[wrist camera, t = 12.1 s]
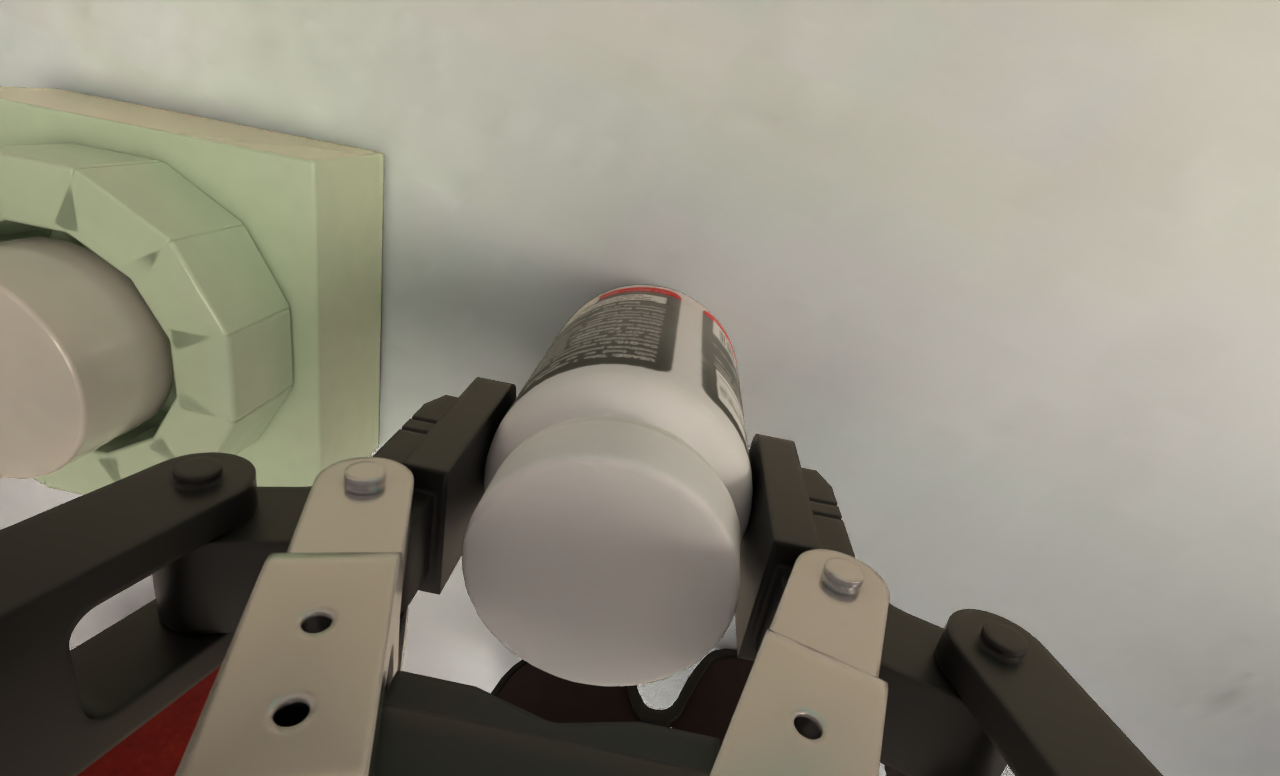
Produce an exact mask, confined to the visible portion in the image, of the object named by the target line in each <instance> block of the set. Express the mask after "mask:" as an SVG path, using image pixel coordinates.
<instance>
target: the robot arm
mask: <svg viewBox="0 0 1280 776" xmlns="http://www.w3.org/2000/svg"><path fill="white" fill-rule="evenodd" d="M515 400H516V386H515V385H514V384H510V383H505V382H500V381H495V380H490V379H485V378H480V377H477V378H476V379H475V380H474V381H473V382H472V383H471V384H470V385H469V387H468V388H467V389H466V390H465V391H464V392H463V393H462V394H461V396H460V397H459V398H458V397H453V396H448V395H445V396H442V397H440V398H438V399H435V400H433V401H430V402H428V403H425V404H424V405H423V406H422V407H421V408H420V409H419V410H418V411H417V412H416V413H415V414H414V415H413V416H412V419H409V420H408V421H407V422H406V423H405V424H404V425H403V426H402V430H401V429H399V430H398V431H397V432H396V433H395V434H394V435H393V436H392V437H391V438H390V439H389V440H388V441H387V442H386V443H385V445H384V446H383V447H382V448H381V449H380V450H379V451H378V452H377V453H376V454H375V455H374V456H373V457H357V458H351V459H346V460H342V461H339V462H336V463H334V464H331V465H329V466H328V467H326V468H324V469H323V470H322V471H320V473H319V474H318V475H317V476H316V478H315V480H314V482H313V485H312V486H308V487H257V480H256V470H255V467H254V465H253V464H252V463H251V462H250V461H248V460H247V459H245V458H243V457H240V456H237V455H233V454H228V453H219V452H206V453H195V454H188V455H183V456H179V457H175V458H172V459H169V460H166V461H163V462H161V463H159V464H156V465H154V466H151V467H149V468H147V469H144V470H142V471H140V472H137V473H135V474H133V475H130V476H128V477H125V478H123V479H121V480H118V481H116V482H114V483H111V484H109V485H106V486H104V487H102V488H99V489H97V490H95V491H92V492H90V493H87V494H85V495H83V496H80V497H78V498H76V499H73V500H71V501H69V502H66V503H64V504H61V505H59V506H57V507H54V508H52V509H50V510H47V511H45V512H42V513H40V514H38V515H35V516H33V517H31V518H28V519H26V520H23V521H21V522H19V523H16V524H14V525H12V526H9V527H7V528H5V529H2V530H0V776H77V775H78V774H80V773H81V772H82V771H84V770H85V769H86V768H87V767H89V766H90V765H91V764H93V763H94V762H95V761H97V760H98V759H99V758H101V757H102V756H103V755H105V754H106V753H107V752H108V751H110V750H111V749H112V748H114V747H115V746H116V745H118V744H119V743H120V742H122V741H123V740H124V739H126V738H127V737H128V736H129V735H131V734H132V733H133V732H135V731H136V730H137V729H139V728H140V727H141V726H143V725H144V724H145V723H146V722H148V721H149V720H150V719H152V718H153V717H154V716H156V715H157V714H158V713H160V712H161V711H162V710H164V709H165V708H166V707H167V706H169V705H170V704H171V703H173V702H174V701H175V700H177V699H178V698H179V697H181V696H182V695H183V694H185V693H186V692H187V691H188V690H190V689H191V688H192V687H194V686H195V685H196V684H198V683H199V682H200V681H202V680H203V679H204V678H206V677H207V676H208V675H209V674H211V673H212V672H213V671H215V670H216V669H217V668H219V667H220V666H221V667H220V669H219V672H218V674H217V676H216V679H215V681H214V684H213V686H212V688H211V691H210V693H209V695H208V698H207V700H206V703H205V705H204V707H203V710H202V712H201V715H200V717H199V719H198V722H197V724H196V726H195V729H194V731H193V734H192V736H191V738H190V741H189V743H188V745H187V748H186V750H185V753H184V755H183V757H182V760H181V762H180V764H179V767H178V769H177V772H176V774H175V776H878V773H879V765H880V763H882V764H884V765H885V771H886V775H887V776H1001V774H1002V773H1003V771H1004V769H1005V767H1006V766H1007V764H1008V766H1009V767H1010V769H1011V770H1012V771H1013V773H1014V774H1015V776H1163V775H1162V774H1161V773H1160V772H1159V771H1158V770H1157V769H1156V767H1155V766H1154V765H1153V764H1152V763H1151V762H1150V761H1149V760H1148V759H1147V758H1146V757H1145V756H1144V754H1143V753H1142V752H1141V751H1140V750H1139V749H1138V748H1137V747H1136V746H1135V745H1134V744H1133V742H1132V741H1131V740H1130V739H1129V738H1128V737H1127V736H1126V735H1125V734H1124V733H1123V732H1122V731H1121V729H1120V728H1119V727H1118V726H1117V725H1116V724H1115V723H1114V722H1113V721H1112V720H1111V719H1110V717H1109V716H1108V715H1107V714H1106V713H1105V712H1104V711H1103V710H1102V709H1101V708H1100V707H1099V706H1098V704H1097V703H1096V702H1095V701H1094V700H1093V699H1092V698H1091V697H1090V696H1089V695H1088V694H1087V692H1086V691H1085V690H1084V689H1083V688H1082V687H1081V686H1080V685H1079V684H1078V683H1077V682H1076V681H1075V679H1074V678H1073V677H1072V676H1071V675H1070V674H1069V673H1068V672H1067V671H1066V670H1065V669H1064V667H1063V666H1062V665H1061V664H1060V663H1059V662H1058V661H1057V660H1056V659H1055V658H1054V657H1053V656H1052V654H1051V653H1050V652H1049V651H1048V650H1047V649H1046V648H1045V647H1044V646H1043V645H1042V644H1041V643H1040V642H1039V641H1038V640H1037V639H1036V638H1035V637H1033V636H1032V635H1031V634H1030V633H1029V632H1027V631H1026V630H1024V629H1023V628H1021V627H1020V626H1018V625H1016V624H1015V623H1013V622H1011V621H1009V620H1007V619H1005V618H1003V617H1001V616H998V615H996V614H993V613H990V612H986V611H982V610H976V609H963V610H959V611H956V612H954V613H953V614H952V615H951V616H950V618H949V620H948V622H947V624H946V626H945V628H944V629H943V628H941V627H939V626H936V625H934V624H931V623H929V622H927V621H924V620H922V619H920V618H917V617H915V616H913V615H910V614H908V613H906V612H904V611H902V610H900V609H898V608H896V607H895V606H893V605H891V604H890V603H889V590H888V588H887V586H886V584H885V582H884V581H883V579H882V578H881V577H880V576H879V575H878V574H877V573H876V572H875V571H874V570H873V569H872V568H870V567H869V566H868V565H866V564H865V563H863V562H862V561H860V560H858V559H856V558H855V555H854V552H853V549H852V546H851V543H850V540H849V537H848V534H847V531H846V528H845V525H844V522H843V520H841V518H842V516H841V513H840V510H839V507H838V506H837V501H836V498H835V495H834V492H833V489H832V487H831V486H830V485H829V484H828V482H827V481H826V480H825V479H824V478H823V477H822V476H821V475H820V474H819V473H818V472H817V471H815V470H810V469H805V468H801V465H800V462H799V458H798V454H797V450H796V446H795V443H794V441H790V440H785V439H780V438H775V437H770V436H765V435H760V434H756V435H755V436H754V438H753V441H752V444H751V447H750V450H749V457H750V462H751V470H752V490H753V494H752V508H751V513H750V518H749V522H748V526H747V529H746V531H745V533H744V536H743V538H742V540H741V547H740V590H739V598H738V603H737V607H736V610H735V618H736V637H737V656H738V658H740V659H745V660H750V661H754V664H753V666H752V669H751V672H750V674H749V677H748V679H747V682H746V684H745V687H744V689H743V692H742V694H741V697H740V699H739V702H738V705H737V707H736V710H735V712H734V715H733V717H732V720H731V722H730V725H729V727H728V730H727V733H726V735H725V738H724V740H723V743H722V745H721V748H720V738H715V737H710V736H705V735H701V734H696V733H691V732H687V731H682V730H677V729H672V728H668V727H663V726H658V725H654V724H649V723H644V722H593V723H555V722H550V721H547V720H545V719H543V718H540V717H538V716H536V715H534V714H532V713H530V712H528V711H526V710H524V709H522V708H519V707H517V706H515V705H513V704H511V703H509V702H507V701H505V700H503V699H501V698H498V697H496V696H494V695H492V694H490V693H488V692H486V691H484V690H482V689H480V688H477V687H475V686H470V685H465V684H461V683H456V682H451V681H446V680H442V679H437V678H432V677H428V676H423V675H418V674H413V673H409V672H404V671H402V667H403V658H404V650H405V641H406V632H407V623H408V606H409V604H410V602H411V601H412V599H413V597H414V596H415V594H416V593H417V591H418V590H420V591H425V592H430V593H435V594H439V595H440V593H441V591H442V589H443V588H444V586H445V584H446V582H447V580H448V579H449V577H450V575H451V573H452V572H453V570H454V568H455V566H456V564H457V563H458V561H459V559H460V557H461V556H462V550H463V543H464V537H465V533H466V530H467V527H468V524H469V522H470V519H471V516H472V514H473V513H474V511H475V509H476V507H477V505H478V504H479V502H480V500H481V498H482V497H483V495H484V493H485V492H484V474H485V465H486V459H487V455H488V452H489V449H490V445H491V443H492V440H493V438H494V435H495V433H496V431H497V429H498V427H499V425H500V423H501V421H502V420H503V418H504V416H505V415H506V413H507V412H508V410H509V409H510V407H511V406H512V404H513V403H514V401H515ZM151 574H152V576H153V582H154V589H155V595H156V599H155V600H154V601H152V602H150V603H149V604H147V605H145V606H144V607H142V608H140V609H139V610H137V611H135V612H134V613H132V614H130V615H129V616H127V617H125V618H124V619H122V620H120V621H119V622H117V623H116V624H114V625H112V626H111V627H109V628H107V629H106V630H104V631H102V632H101V633H99V634H97V635H96V636H94V637H92V638H91V639H89V640H87V641H86V642H84V643H82V644H81V645H79V646H77V647H76V648H74V649H73V650H71V651H70V649H69V640H70V637H71V634H72V632H73V630H74V628H75V626H76V625H77V623H78V622H79V621H80V620H81V619H82V617H83V616H84V615H85V614H86V613H88V612H89V611H90V610H91V609H93V608H94V607H95V606H97V605H99V604H100V603H102V602H104V601H106V600H107V599H109V598H111V597H113V596H114V595H116V594H118V593H120V592H121V591H123V590H125V589H127V588H128V587H130V586H132V585H134V584H135V583H137V582H139V581H141V580H143V579H144V578H146V577H148V576H150V575H151Z"/></svg>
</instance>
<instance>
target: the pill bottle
mask: <svg viewBox="0 0 1280 776" xmlns="http://www.w3.org/2000/svg"><path fill="white" fill-rule="evenodd" d="M484 492H485V493H484V495H483V497H482V498H481V500H480V502H479V504H478V505H477V507H476V509H475V511H474V513H473V514H472V516H471V519H470V522H469V524H468V527H467V530H466V533H465V537H464V543H463V550H462V569H463V575H464V580H465V586H466V589H467V593H468V595H469V597H470V599H471V601H472V603H473V605H474V607H475V609H476V611H477V614H478V615H479V617H480V618H481V620H482V621H483V623H484V624H485V626H486V627H487V628H488V629H489V630H490V631H491V633H492V634H493V635H494V636H495V637H496V638H497V639H498V640H499V641H500V642H501V643H502V644H503V645H504V646H505V647H507V648H508V649H509V650H510V651H512V652H513V653H514V654H515V655H517V656H518V657H520V658H521V659H523V660H524V661H527V662H528V663H529V664H531V665H533V666H535V667H537V668H539V669H541V670H543V671H545V672H547V673H550V674H552V675H554V676H557V677H560V678H563V679H566V680H569V681H572V682H577V683H583V684H589V685H597V686H633V685H639V684H645V683H649V682H654V681H658V680H661V679H665V678H667V677H670V676H672V675H674V674H676V673H679V672H681V671H683V670H684V669H686V668H688V667H690V666H692V665H693V664H694V663H696V662H697V661H699V660H700V659H701V658H702V657H703V656H705V655H706V654H708V652H709V651H710V650H712V648H713V647H714V646H715V645H716V644H717V643H718V641H719V640H720V639H721V638H722V636H723V635H724V633H725V632H726V630H727V628H728V627H729V625H730V623H731V620H732V618H733V616H734V613H735V610H736V607H737V603H738V598H739V590H740V547H741V540H742V538H743V536H744V533H745V531H746V529H747V526H748V522H749V518H750V513H751V508H752V494H753V490H752V470H751V462H750V457H749V450H748V444H747V436H746V429H745V421H744V414H743V406H742V399H741V391H740V384H739V375H738V368H737V362H736V357H735V353H734V349H733V346H732V344H731V341H730V339H729V337H728V335H727V333H726V332H725V330H724V328H723V327H722V325H721V324H720V323H719V322H718V320H717V319H716V318H715V317H714V316H713V315H712V314H711V313H710V312H709V311H708V310H707V309H706V308H704V307H703V306H702V305H701V304H699V303H698V302H697V301H695V300H694V299H692V298H690V297H688V296H686V295H684V294H682V293H680V292H678V291H675V290H672V289H668V288H664V287H659V286H651V285H633V286H625V287H620V288H616V289H613V290H611V291H608V292H605V293H603V294H601V295H599V296H597V297H595V298H594V299H592V300H591V301H589V302H588V303H586V304H585V305H584V306H583V307H581V308H580V309H579V310H578V311H577V312H576V313H575V314H574V315H573V316H572V318H571V319H570V320H569V321H568V322H567V323H566V325H565V326H564V327H563V329H562V330H561V332H560V333H559V335H558V336H557V338H556V339H555V341H554V343H553V344H552V346H551V347H550V349H549V350H548V352H547V353H546V355H545V356H544V358H543V359H542V361H541V362H540V364H539V365H538V367H537V368H536V370H535V371H534V373H533V374H532V376H531V377H530V379H529V380H528V382H527V383H526V385H525V386H524V388H523V389H522V391H521V392H520V394H519V395H518V397H517V399H516V400H515V401H514V403H513V404H512V406H511V407H510V409H509V410H508V412H507V413H506V415H505V416H504V418H503V420H502V421H501V423H500V425H499V427H498V429H497V431H496V433H495V435H494V438H493V440H492V443H491V445H490V449H489V452H488V455H487V459H486V465H485V474H484Z"/></svg>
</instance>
